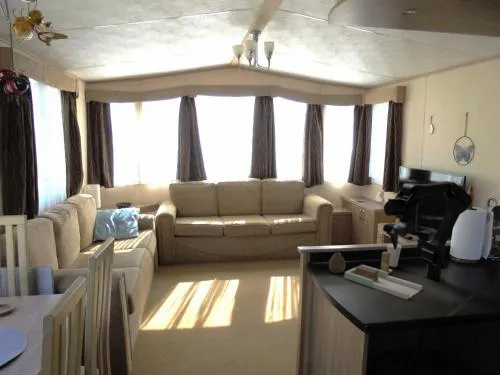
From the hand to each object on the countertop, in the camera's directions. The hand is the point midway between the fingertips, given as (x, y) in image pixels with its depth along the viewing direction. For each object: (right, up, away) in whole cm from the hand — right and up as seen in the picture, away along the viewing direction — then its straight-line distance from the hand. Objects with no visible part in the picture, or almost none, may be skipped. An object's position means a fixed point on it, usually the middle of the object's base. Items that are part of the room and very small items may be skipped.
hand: (406, 252), depth 149 cm
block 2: (-14, -11, +1) cm, 18 cm away
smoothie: (+3, -10, +21) cm, 24 cm away
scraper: (-5, -12, +10) cm, 16 cm away
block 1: (-17, -11, +4) cm, 20 cm away
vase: (-26, -11, +11) cm, 30 cm away
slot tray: (-11, -13, -2) cm, 17 cm away
